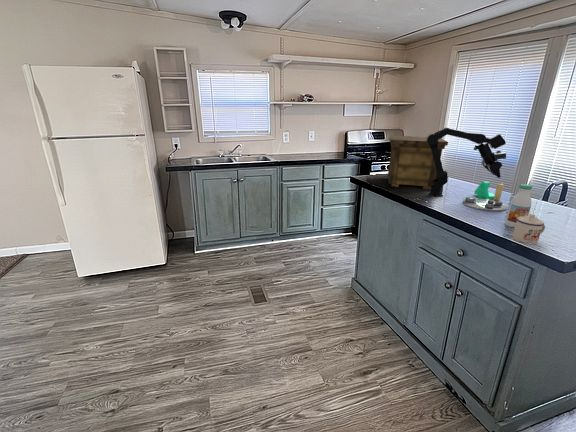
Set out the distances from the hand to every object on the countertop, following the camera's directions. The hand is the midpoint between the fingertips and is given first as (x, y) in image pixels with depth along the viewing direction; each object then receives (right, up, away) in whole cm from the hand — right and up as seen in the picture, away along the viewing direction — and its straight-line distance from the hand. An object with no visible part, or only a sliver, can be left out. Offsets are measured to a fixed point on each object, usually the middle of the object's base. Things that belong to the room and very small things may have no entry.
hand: (497, 176), depth 180 cm
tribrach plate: (-11, -17, -5) cm, 22 cm away
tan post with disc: (-9, -18, -11) cm, 23 cm away
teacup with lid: (-23, -34, -52) cm, 66 cm away
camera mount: (0, -12, +11) cm, 17 cm away
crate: (-35, 0, +44) cm, 56 cm away
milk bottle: (-17, -29, -36) cm, 49 cm away
